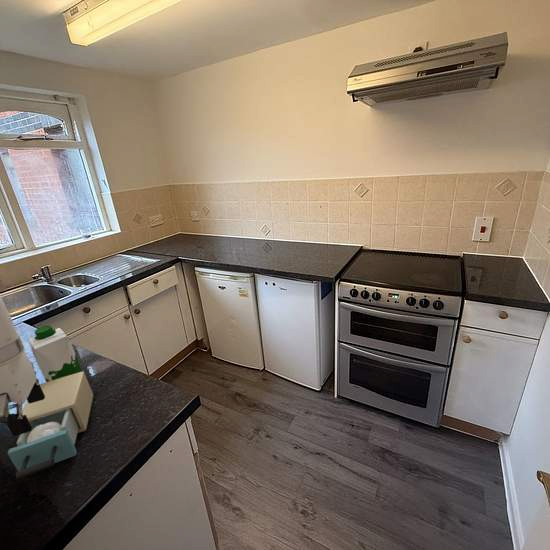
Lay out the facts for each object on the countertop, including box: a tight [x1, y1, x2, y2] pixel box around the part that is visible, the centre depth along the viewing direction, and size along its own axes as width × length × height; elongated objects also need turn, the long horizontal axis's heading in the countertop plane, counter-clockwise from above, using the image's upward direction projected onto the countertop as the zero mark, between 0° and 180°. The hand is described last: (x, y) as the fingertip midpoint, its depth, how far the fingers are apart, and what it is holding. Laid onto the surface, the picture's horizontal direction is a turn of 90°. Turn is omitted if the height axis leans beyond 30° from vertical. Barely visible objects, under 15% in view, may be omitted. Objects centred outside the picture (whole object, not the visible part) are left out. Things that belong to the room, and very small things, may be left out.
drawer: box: [7, 408, 79, 480], centre depth 67 cm, size 17×10×7 cm, turn 23°
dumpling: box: [26, 422, 62, 443], centre depth 68 cm, size 7×5×4 cm
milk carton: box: [28, 325, 83, 382], centre depth 87 cm, size 9×9×20 cm
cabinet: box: [22, 370, 94, 434], centre depth 77 cm, size 14×12×9 cm
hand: (30, 415), depth 66 cm, fingers open, 9 cm apart
